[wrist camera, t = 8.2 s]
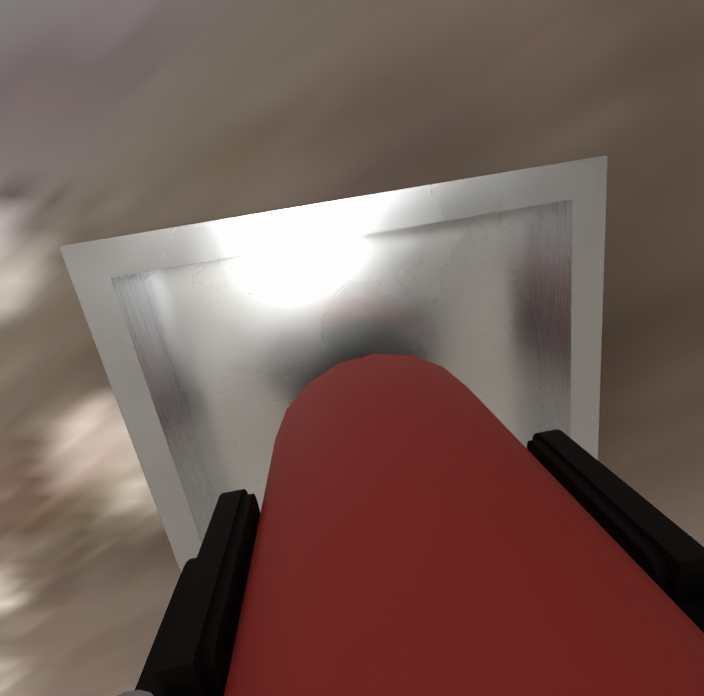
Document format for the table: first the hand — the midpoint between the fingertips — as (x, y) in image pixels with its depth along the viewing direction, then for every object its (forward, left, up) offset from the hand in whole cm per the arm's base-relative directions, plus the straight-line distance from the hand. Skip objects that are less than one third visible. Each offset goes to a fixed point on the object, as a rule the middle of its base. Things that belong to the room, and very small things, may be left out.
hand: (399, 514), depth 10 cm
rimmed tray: (0, 0, -6) cm, 6 cm away
